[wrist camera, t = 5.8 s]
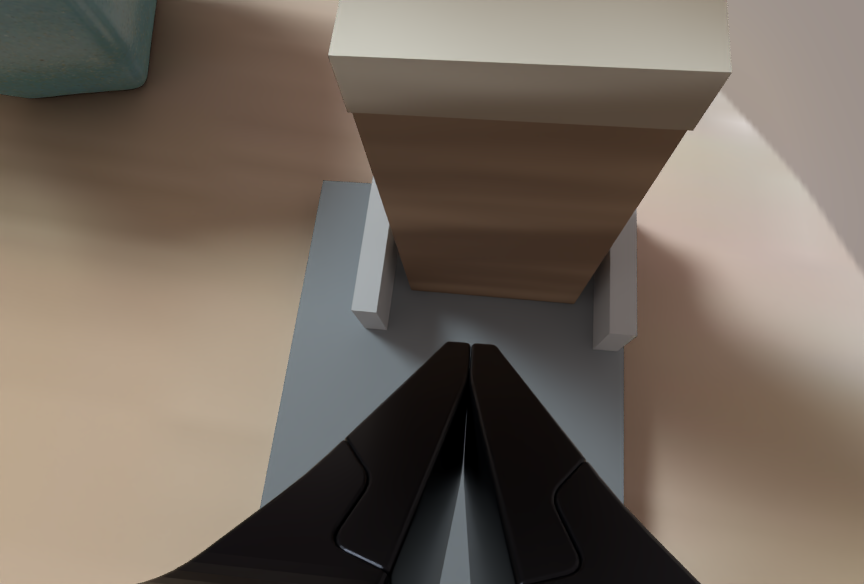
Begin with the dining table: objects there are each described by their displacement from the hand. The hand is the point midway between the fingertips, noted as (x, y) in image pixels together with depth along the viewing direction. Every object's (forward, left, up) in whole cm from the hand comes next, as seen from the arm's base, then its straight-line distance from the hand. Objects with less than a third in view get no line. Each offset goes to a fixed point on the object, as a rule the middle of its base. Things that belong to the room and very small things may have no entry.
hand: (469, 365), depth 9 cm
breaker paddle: (+5, 0, -7) cm, 8 cm away
